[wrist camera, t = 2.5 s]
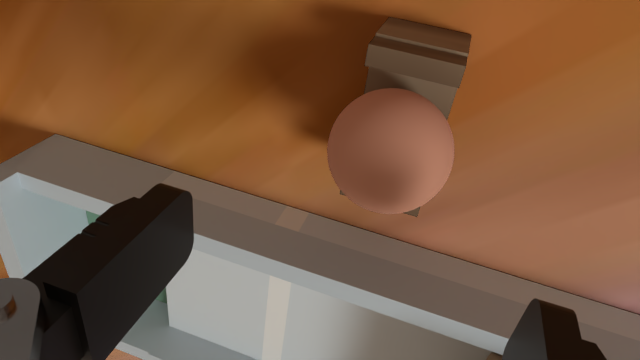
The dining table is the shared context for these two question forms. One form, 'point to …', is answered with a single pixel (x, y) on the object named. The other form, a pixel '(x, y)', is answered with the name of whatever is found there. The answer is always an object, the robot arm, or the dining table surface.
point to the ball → (390, 151)
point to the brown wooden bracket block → (417, 62)
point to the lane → (281, 274)
